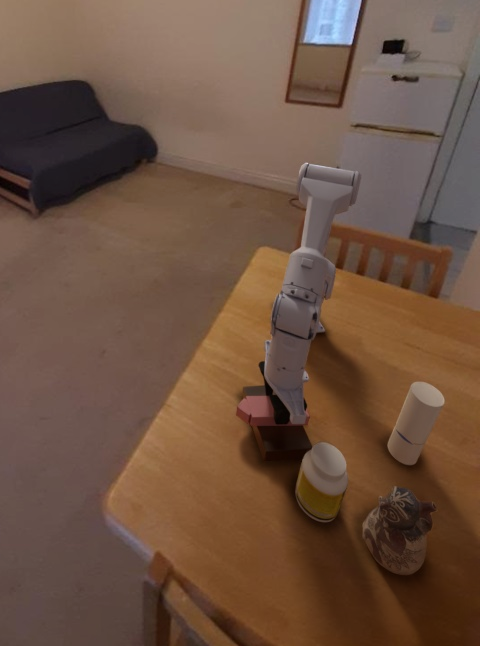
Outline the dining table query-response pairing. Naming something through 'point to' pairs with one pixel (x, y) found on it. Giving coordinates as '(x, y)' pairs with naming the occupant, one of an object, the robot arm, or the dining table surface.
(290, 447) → the walnut block
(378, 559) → the figurine
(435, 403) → the tube
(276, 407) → the robot arm
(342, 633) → the dining table surface
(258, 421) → the boat
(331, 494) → the pill bottle
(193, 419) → the dining table surface
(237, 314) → the dining table surface
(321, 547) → the dining table surface
